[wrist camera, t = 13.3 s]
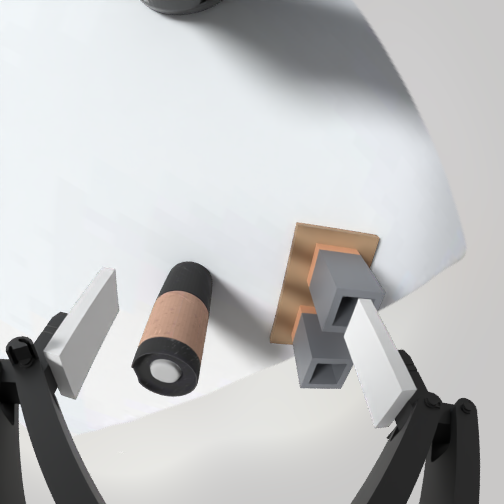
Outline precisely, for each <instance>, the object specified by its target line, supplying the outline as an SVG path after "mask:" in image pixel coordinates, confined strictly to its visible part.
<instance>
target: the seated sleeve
mask: <svg viewBox="0 0 504 504" xmlns="http://www.w3.org/2000/svg"><path fill="white" fill-rule="evenodd" d="M307 283H308V287H309V290H310V293H311V296H312V300H313V303H314V306H315V309H316V313H317V316H318V320H319V323H320V326H321V330H322V332H338V333H345V332H346V330H347V327H348V325H349V322H350V320H351V317H352V314H353V312H354V309H355V307H356V304H357V301H358V299H371V301H372V303H373V305H374V306H375V308H376V310H377V312H378V310H379V307H380V305H381V303H382V300H383V298H384V295H385V291H384V290H383V288H382V287H381V285H380V283H379V282H378V280H377V279H376V277H375V276H374V274H373V273H372V271H371V270H370V268H369V267H368V265H367V264H366V262H365V261H364V259H363V258H362V256H361V255H360V254H359V252H358V251H357V249H353V248H346V247H339V246H332V245H325V244H318V243H316V247H315V251H314V255H313V259H312V263H311V267H310V271H309V274H308V278H307ZM342 296H347V297H344V298H342Z"/></svg>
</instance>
